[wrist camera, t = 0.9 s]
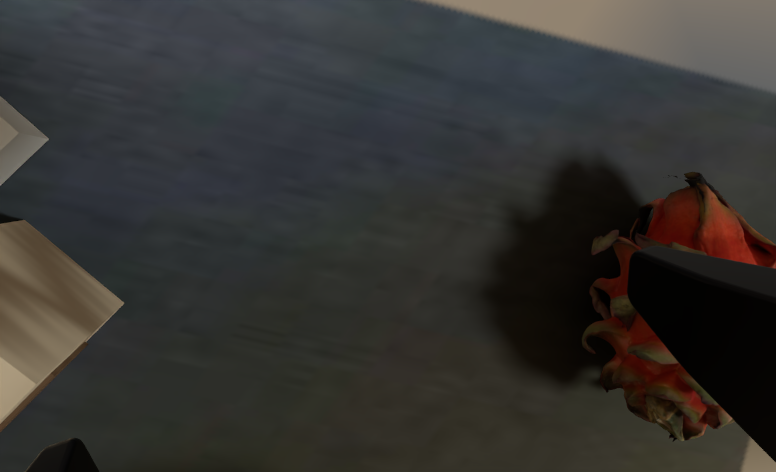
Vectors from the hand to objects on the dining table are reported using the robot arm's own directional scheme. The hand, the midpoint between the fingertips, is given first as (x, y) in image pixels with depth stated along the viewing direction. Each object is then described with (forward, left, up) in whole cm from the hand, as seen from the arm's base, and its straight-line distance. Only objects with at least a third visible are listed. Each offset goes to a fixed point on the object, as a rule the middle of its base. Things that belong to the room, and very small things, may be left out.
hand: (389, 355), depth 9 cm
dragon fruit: (+2, -17, -17) cm, 24 cm away
